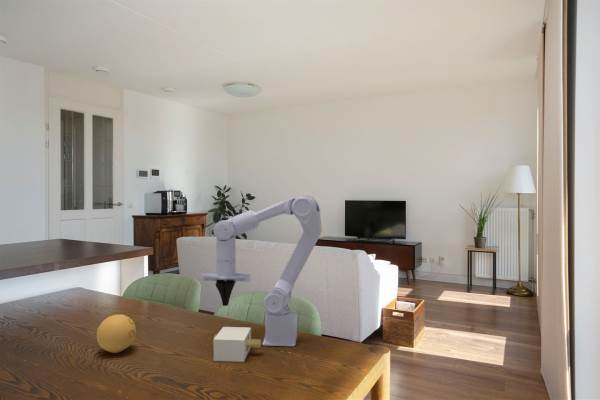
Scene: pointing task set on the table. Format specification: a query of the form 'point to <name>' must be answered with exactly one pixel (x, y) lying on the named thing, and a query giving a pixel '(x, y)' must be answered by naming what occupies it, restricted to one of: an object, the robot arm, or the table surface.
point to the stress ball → (116, 333)
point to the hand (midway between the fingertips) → (225, 304)
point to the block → (231, 344)
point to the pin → (249, 343)
